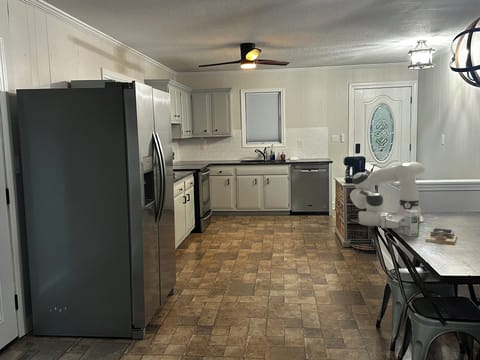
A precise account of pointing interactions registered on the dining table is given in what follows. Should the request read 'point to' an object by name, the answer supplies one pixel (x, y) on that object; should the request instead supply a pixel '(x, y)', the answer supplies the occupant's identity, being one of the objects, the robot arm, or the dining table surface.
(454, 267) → the dining table surface
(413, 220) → the syrup box
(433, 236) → the socket board
